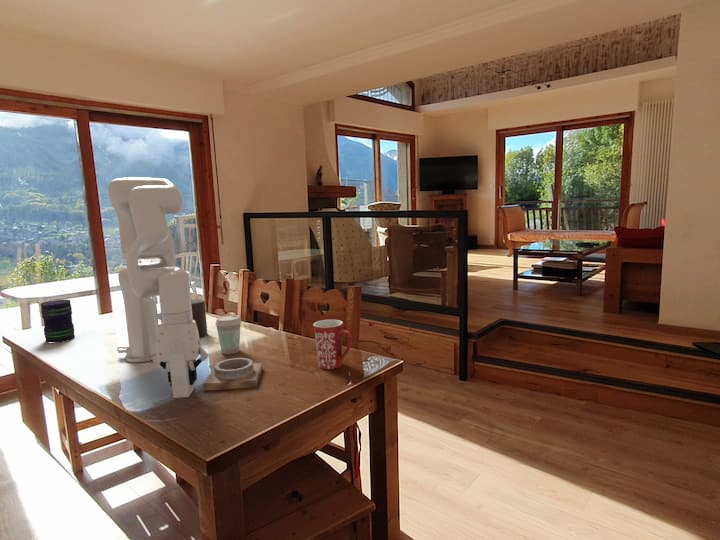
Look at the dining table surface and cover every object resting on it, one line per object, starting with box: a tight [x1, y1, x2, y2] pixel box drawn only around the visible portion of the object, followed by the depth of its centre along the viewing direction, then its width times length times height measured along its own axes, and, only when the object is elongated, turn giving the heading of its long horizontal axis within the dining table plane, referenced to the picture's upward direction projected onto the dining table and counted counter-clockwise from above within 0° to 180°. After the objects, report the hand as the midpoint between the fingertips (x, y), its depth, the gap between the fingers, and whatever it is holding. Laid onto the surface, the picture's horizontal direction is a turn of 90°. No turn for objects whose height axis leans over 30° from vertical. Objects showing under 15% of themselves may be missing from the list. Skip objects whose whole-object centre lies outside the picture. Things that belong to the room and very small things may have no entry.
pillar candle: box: [191, 298, 208, 339], centre depth 176 cm, size 10×10×15 cm
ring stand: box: [203, 357, 263, 392], centre depth 130 cm, size 14×14×4 cm
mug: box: [312, 319, 353, 370], centre depth 137 cm, size 13×9×14 cm
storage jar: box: [40, 299, 76, 343], centre depth 176 cm, size 10×10×15 cm
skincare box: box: [169, 354, 196, 399], centre depth 121 cm, size 6×4×12 cm
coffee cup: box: [214, 314, 242, 355], centre depth 155 cm, size 8×8×12 cm
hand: (183, 383), depth 121 cm, fingers closed on skincare box, 4 cm apart
